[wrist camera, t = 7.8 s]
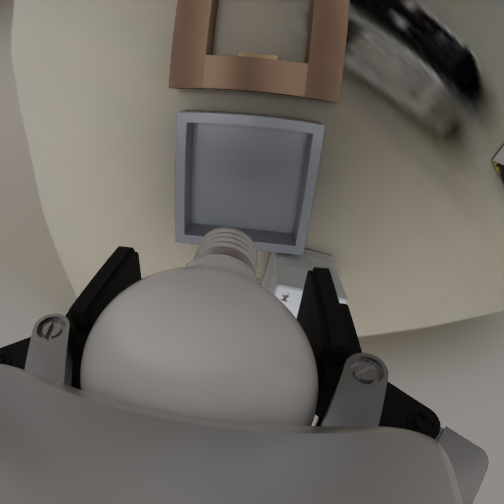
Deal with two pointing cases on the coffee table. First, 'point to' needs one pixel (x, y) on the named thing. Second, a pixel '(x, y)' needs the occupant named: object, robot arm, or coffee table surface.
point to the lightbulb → (205, 342)
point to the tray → (246, 177)
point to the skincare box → (297, 276)
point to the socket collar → (260, 55)
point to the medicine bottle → (499, 163)
